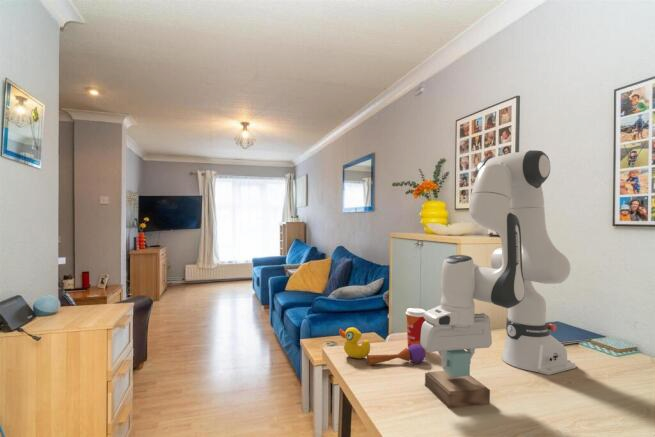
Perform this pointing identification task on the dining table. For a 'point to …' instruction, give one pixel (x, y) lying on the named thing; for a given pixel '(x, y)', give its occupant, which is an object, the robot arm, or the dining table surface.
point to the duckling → (354, 343)
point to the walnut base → (457, 389)
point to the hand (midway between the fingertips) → (456, 364)
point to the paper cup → (414, 325)
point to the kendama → (400, 355)
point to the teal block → (458, 363)
